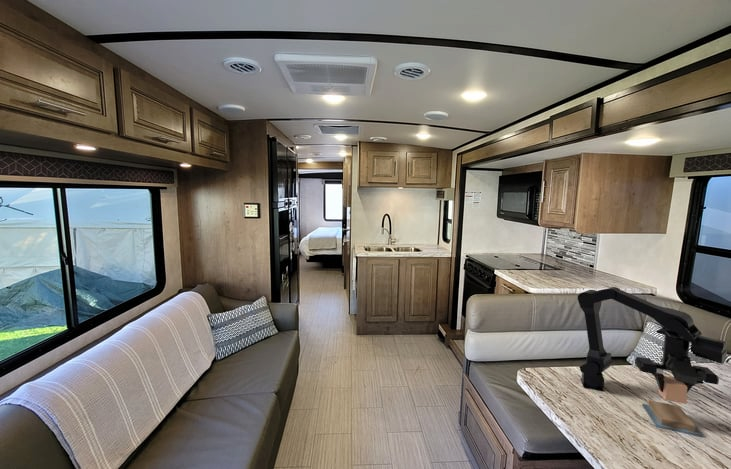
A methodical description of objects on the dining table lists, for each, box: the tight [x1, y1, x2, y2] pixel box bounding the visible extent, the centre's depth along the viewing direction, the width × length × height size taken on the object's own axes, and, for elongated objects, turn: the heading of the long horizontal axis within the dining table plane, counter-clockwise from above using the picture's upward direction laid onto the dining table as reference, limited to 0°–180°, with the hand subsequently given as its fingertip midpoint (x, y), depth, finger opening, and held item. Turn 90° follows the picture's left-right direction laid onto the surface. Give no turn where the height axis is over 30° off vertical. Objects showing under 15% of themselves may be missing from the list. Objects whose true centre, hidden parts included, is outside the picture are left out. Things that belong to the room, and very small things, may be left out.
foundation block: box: [641, 399, 703, 438], centre depth 99 cm, size 11×11×3 cm
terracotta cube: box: [658, 375, 688, 405], centre depth 98 cm, size 5×5×6 cm
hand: (672, 393), depth 98 cm, fingers closed on terracotta cube, 5 cm apart
